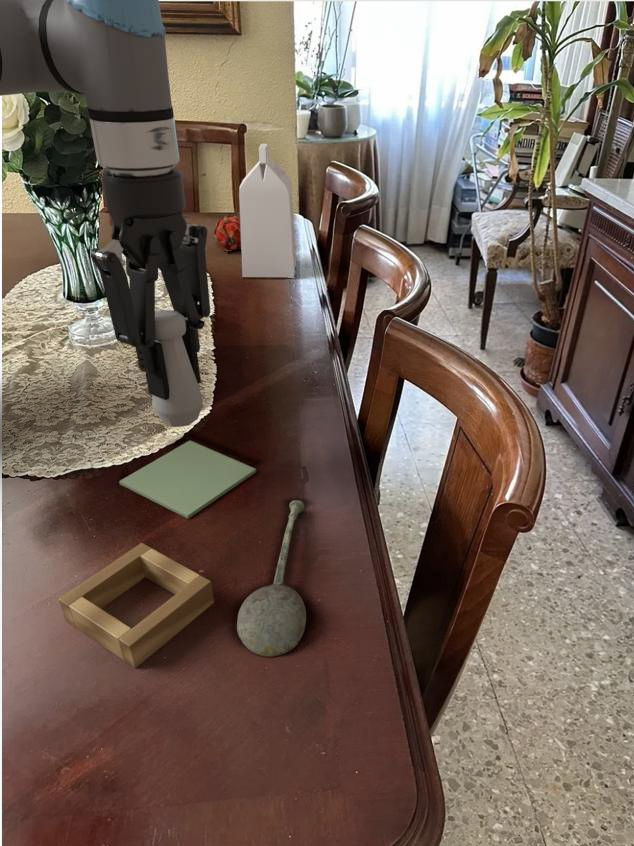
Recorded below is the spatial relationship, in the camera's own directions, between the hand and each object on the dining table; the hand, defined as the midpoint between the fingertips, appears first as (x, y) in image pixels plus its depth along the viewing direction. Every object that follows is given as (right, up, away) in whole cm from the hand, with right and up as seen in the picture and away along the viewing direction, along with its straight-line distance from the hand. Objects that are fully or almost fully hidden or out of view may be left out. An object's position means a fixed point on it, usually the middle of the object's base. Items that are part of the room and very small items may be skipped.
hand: (175, 387), depth 77 cm
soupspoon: (+13, -21, -7) cm, 26 cm away
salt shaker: (0, -4, +2) cm, 4 cm away
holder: (0, -24, -11) cm, 26 cm away
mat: (0, -11, +7) cm, 13 cm away
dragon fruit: (-10, +47, +89) cm, 101 cm away
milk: (+1, +37, +76) cm, 85 cm away
